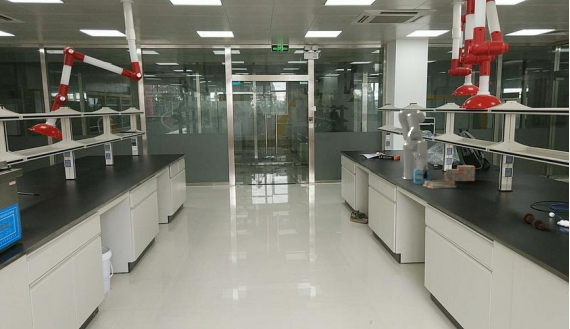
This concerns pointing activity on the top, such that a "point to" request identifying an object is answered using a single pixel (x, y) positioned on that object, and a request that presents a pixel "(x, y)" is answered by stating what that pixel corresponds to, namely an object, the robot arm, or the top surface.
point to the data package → (420, 176)
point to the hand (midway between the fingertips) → (422, 177)
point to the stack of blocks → (461, 173)
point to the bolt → (533, 221)
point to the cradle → (439, 184)
